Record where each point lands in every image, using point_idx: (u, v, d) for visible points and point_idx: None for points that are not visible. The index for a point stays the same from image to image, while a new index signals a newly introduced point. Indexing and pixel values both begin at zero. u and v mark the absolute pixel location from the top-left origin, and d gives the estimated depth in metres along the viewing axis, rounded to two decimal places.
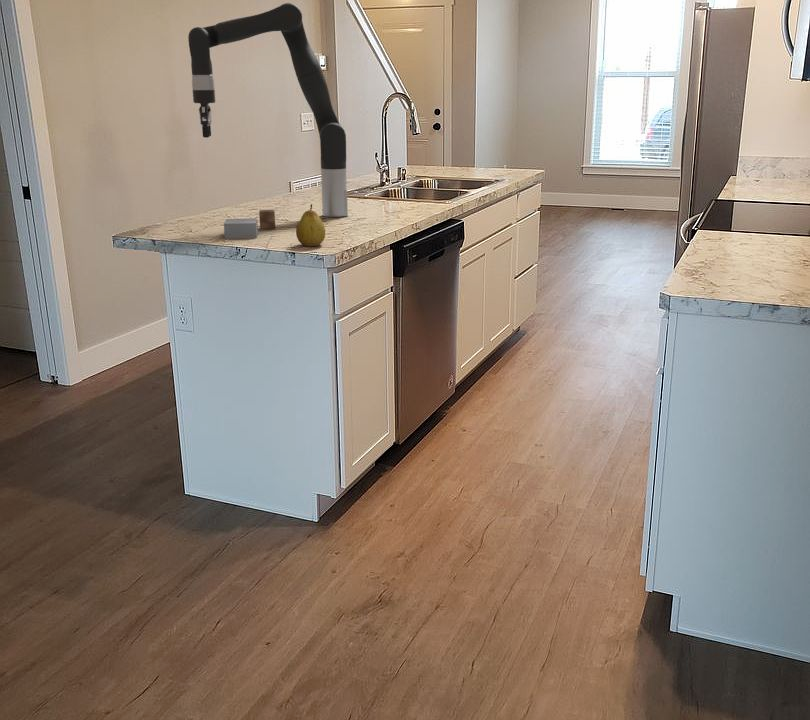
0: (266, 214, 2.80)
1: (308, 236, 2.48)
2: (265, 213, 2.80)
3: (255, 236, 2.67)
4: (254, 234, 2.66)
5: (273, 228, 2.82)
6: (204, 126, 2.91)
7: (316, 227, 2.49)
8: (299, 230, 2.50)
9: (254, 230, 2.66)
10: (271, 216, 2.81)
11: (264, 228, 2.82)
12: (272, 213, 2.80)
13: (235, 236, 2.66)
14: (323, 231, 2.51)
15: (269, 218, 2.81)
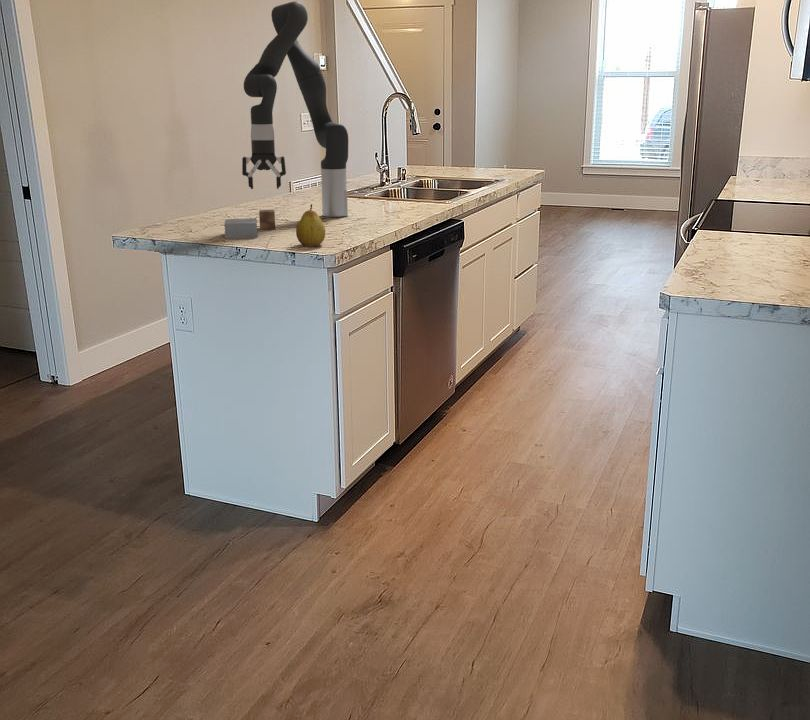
0: (266, 214, 2.80)
1: (308, 236, 2.48)
2: (265, 213, 2.80)
3: (256, 236, 2.67)
4: (255, 234, 2.67)
5: (273, 228, 2.82)
6: (280, 177, 2.79)
7: (316, 227, 2.49)
8: (299, 230, 2.50)
9: (255, 230, 2.66)
10: (271, 216, 2.81)
11: (264, 228, 2.82)
12: (272, 213, 2.80)
13: (236, 236, 2.66)
14: (323, 231, 2.51)
15: (268, 218, 2.81)
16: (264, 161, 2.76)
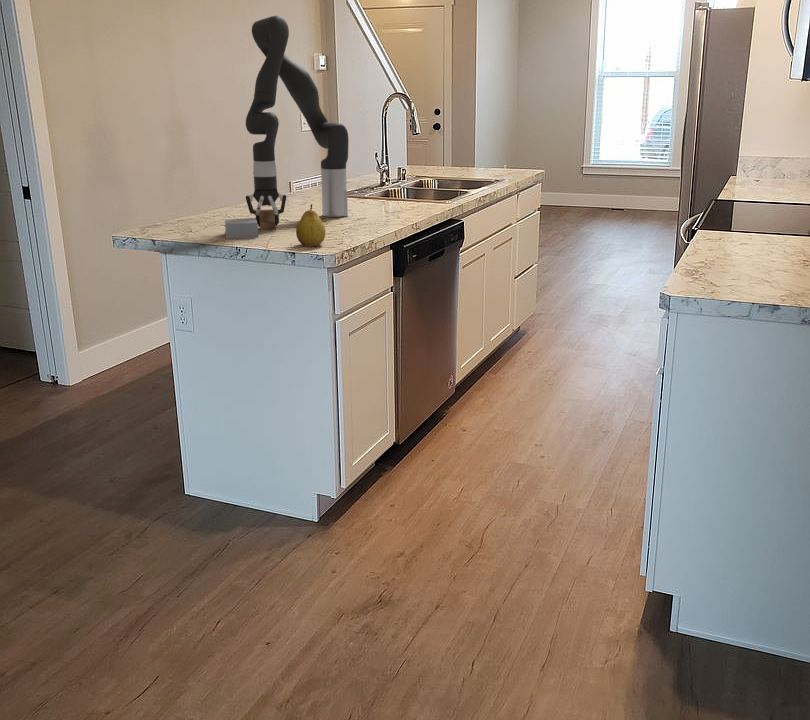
0: (266, 214, 2.80)
1: (308, 236, 2.48)
2: (265, 213, 2.80)
3: (256, 236, 2.67)
4: (255, 234, 2.67)
5: (273, 228, 2.82)
6: None
7: (316, 227, 2.49)
8: (299, 230, 2.50)
9: (255, 230, 2.66)
10: (271, 216, 2.81)
11: (264, 228, 2.81)
12: (272, 213, 2.80)
13: (236, 236, 2.66)
14: (323, 231, 2.51)
15: (269, 218, 2.81)
16: (266, 197, 2.80)
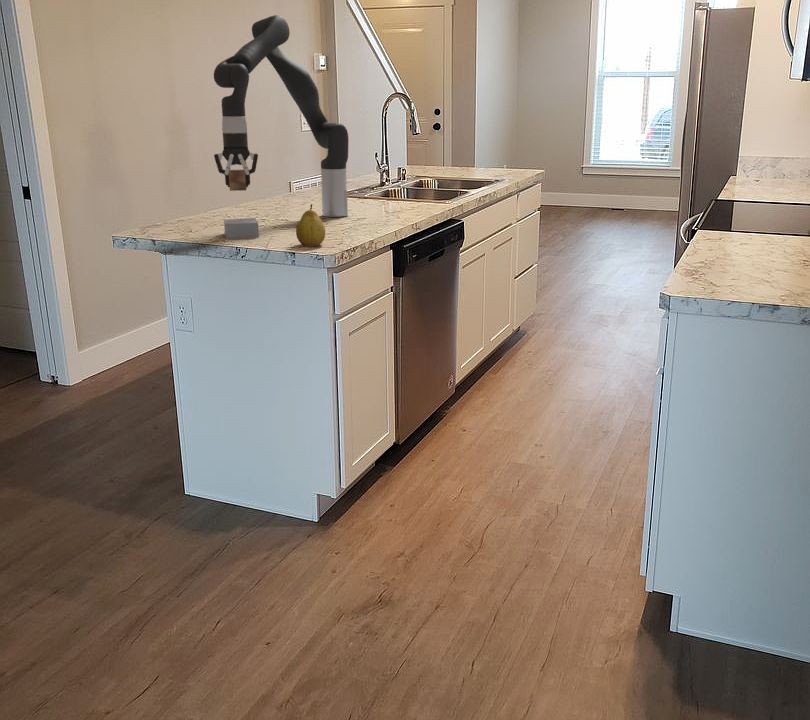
0: (236, 173, 2.62)
1: (308, 236, 2.48)
2: (235, 172, 2.62)
3: (257, 236, 2.67)
4: (256, 234, 2.67)
5: (244, 189, 2.64)
6: None
7: (316, 227, 2.49)
8: (299, 230, 2.50)
9: (256, 230, 2.67)
10: (241, 175, 2.63)
11: (234, 188, 2.64)
12: (242, 172, 2.63)
13: (237, 236, 2.66)
14: (323, 231, 2.51)
15: (239, 178, 2.63)
16: (236, 155, 2.62)
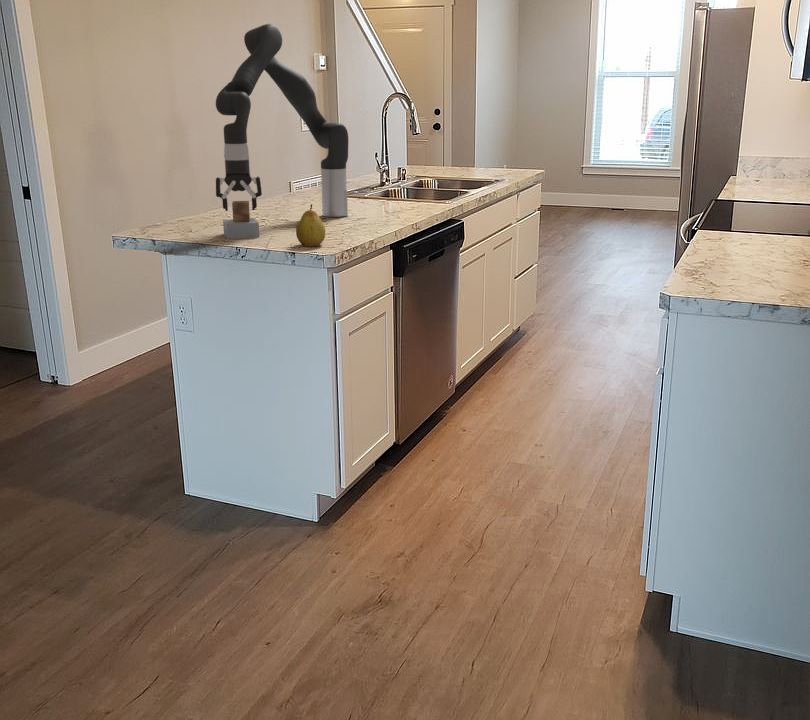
0: (239, 205, 2.66)
1: (308, 236, 2.48)
2: (238, 204, 2.66)
3: (258, 236, 2.68)
4: (257, 234, 2.67)
5: (247, 220, 2.67)
6: None
7: (316, 227, 2.49)
8: (299, 230, 2.50)
9: (257, 230, 2.67)
10: (245, 207, 2.66)
11: (237, 220, 2.67)
12: (246, 204, 2.66)
13: (238, 236, 2.66)
14: (323, 231, 2.51)
15: (242, 209, 2.66)
16: (239, 182, 2.65)
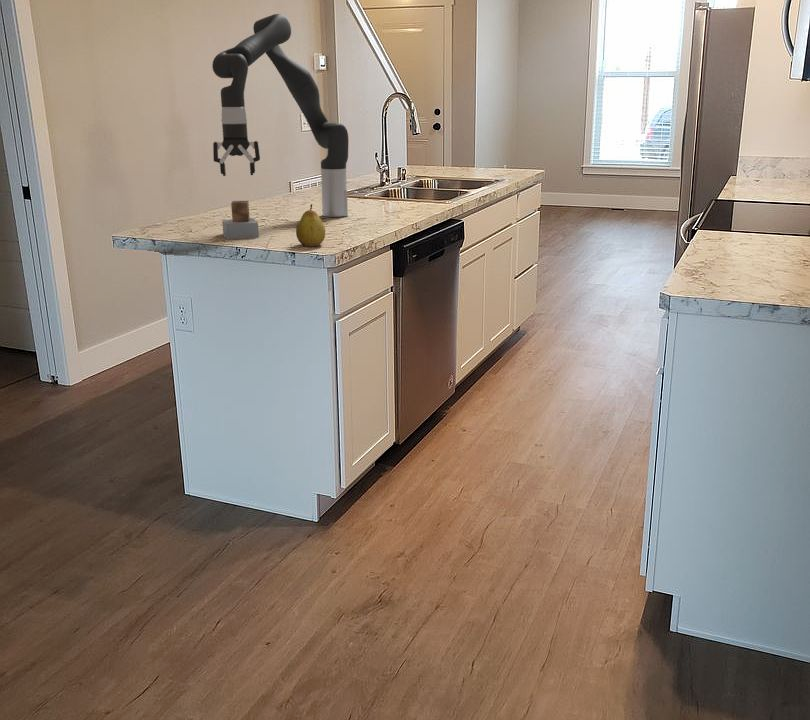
0: (239, 205, 2.66)
1: (308, 236, 2.48)
2: (237, 204, 2.66)
3: (257, 236, 2.67)
4: (256, 234, 2.67)
5: (246, 220, 2.68)
6: (254, 162, 2.64)
7: (316, 227, 2.49)
8: (299, 230, 2.50)
9: (256, 230, 2.67)
10: (244, 207, 2.66)
11: (237, 220, 2.67)
12: (245, 204, 2.66)
13: (237, 236, 2.66)
14: (323, 231, 2.51)
15: (241, 209, 2.66)
16: (236, 146, 2.61)
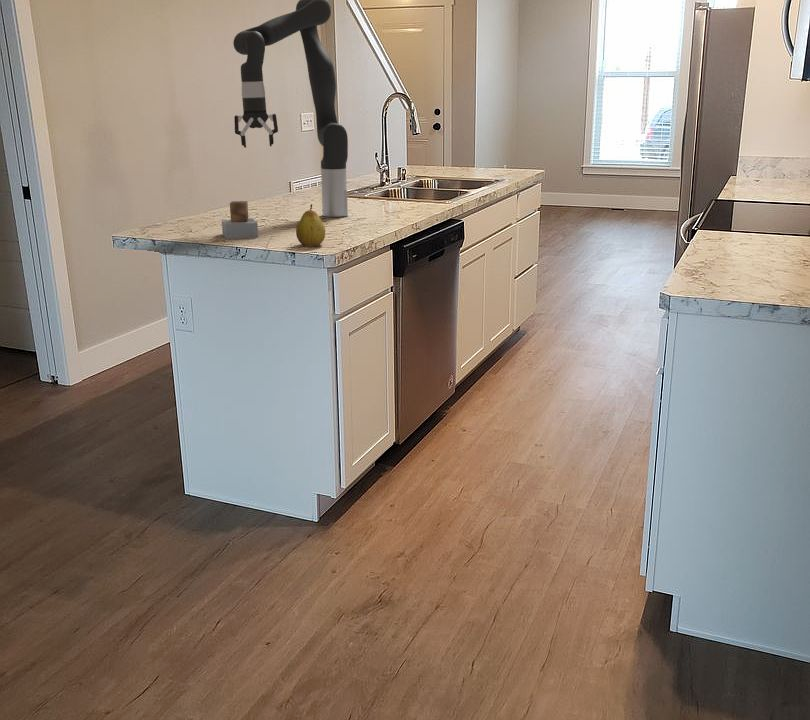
0: (237, 205, 2.66)
1: (308, 236, 2.48)
2: (236, 204, 2.65)
3: (256, 236, 2.67)
4: (255, 234, 2.67)
5: (245, 220, 2.67)
6: None
7: (316, 227, 2.49)
8: (299, 230, 2.50)
9: (255, 230, 2.67)
10: (242, 207, 2.66)
11: (235, 220, 2.67)
12: (243, 204, 2.66)
13: (237, 236, 2.65)
14: (323, 231, 2.51)
15: (240, 210, 2.66)
16: (256, 119, 2.78)
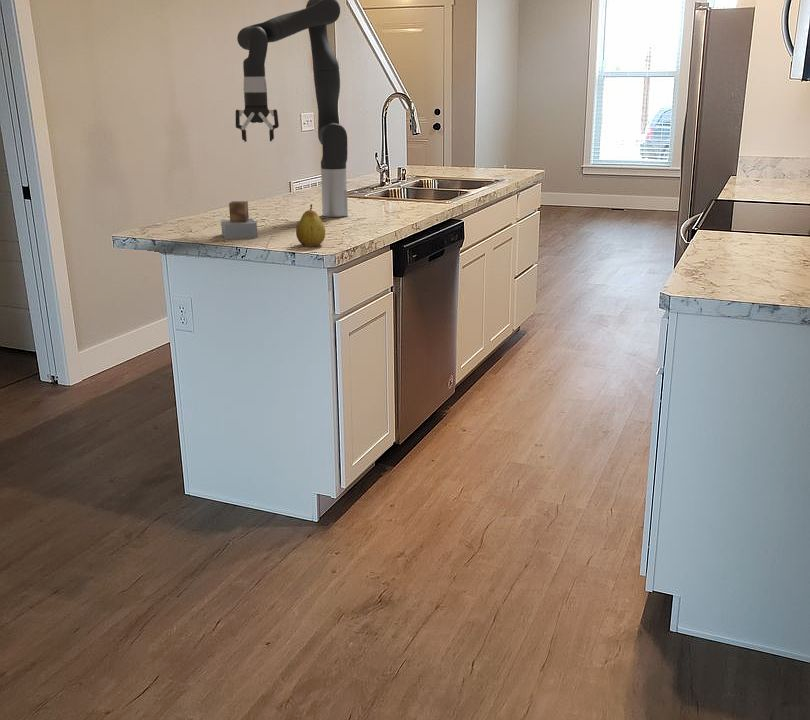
0: (236, 205, 2.65)
1: (308, 236, 2.48)
2: (235, 204, 2.65)
3: (256, 236, 2.67)
4: (255, 234, 2.67)
5: (244, 220, 2.67)
6: (273, 129, 2.83)
7: (316, 227, 2.49)
8: (299, 230, 2.50)
9: (255, 230, 2.66)
10: (241, 207, 2.65)
11: (234, 220, 2.67)
12: (242, 204, 2.65)
13: (236, 237, 2.65)
14: (323, 231, 2.51)
15: (239, 210, 2.66)
16: (257, 114, 2.80)
